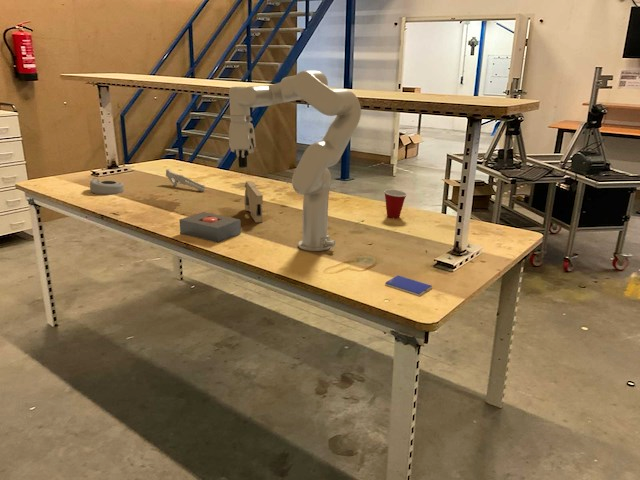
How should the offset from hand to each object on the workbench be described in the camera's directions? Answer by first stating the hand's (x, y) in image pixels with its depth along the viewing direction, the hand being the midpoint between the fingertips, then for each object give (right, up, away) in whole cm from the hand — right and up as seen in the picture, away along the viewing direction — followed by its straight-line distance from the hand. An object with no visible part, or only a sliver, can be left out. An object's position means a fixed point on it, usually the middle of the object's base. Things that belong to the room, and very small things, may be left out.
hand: (243, 167), depth 205 cm
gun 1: (-44, 0, +82) cm, 93 cm away
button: (-14, -23, +5) cm, 28 cm away
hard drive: (+59, -45, -40) cm, 84 cm away
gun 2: (0, -18, +32) cm, 37 cm away
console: (-14, -26, +6) cm, 31 cm away
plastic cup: (+65, -18, +37) cm, 77 cm away
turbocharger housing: (-83, -4, +69) cm, 108 cm away
